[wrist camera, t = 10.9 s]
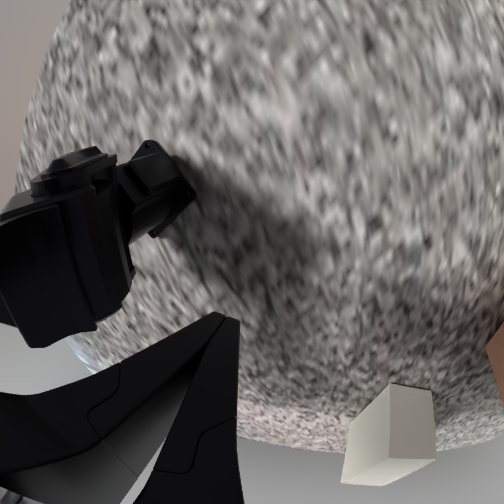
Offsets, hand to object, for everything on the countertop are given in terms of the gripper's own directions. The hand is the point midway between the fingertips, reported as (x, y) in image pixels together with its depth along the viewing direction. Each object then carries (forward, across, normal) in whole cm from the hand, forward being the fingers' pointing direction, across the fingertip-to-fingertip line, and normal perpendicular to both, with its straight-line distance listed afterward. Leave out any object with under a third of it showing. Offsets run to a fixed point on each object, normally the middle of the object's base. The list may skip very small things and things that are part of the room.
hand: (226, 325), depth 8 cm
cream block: (+13, -18, +20) cm, 30 cm away
